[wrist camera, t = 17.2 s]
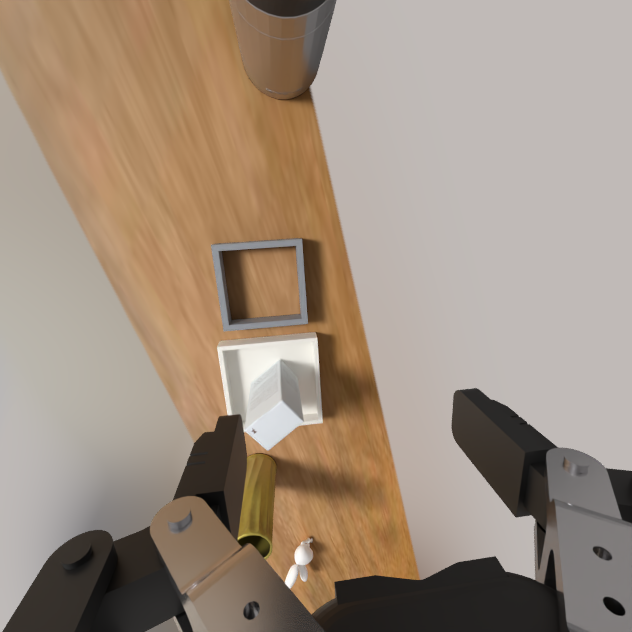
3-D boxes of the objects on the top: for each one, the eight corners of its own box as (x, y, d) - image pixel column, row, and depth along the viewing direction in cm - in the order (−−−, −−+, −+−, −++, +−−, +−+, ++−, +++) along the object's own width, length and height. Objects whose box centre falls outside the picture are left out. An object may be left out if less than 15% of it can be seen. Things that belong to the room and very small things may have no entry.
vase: (284, 464, 55) (285, 544, 42) (261, 489, 56) (256, 575, 43) (254, 446, 54) (246, 523, 40) (232, 472, 55) (216, 556, 41)
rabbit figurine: (324, 540, 61) (311, 588, 59) (308, 529, 64) (295, 575, 62) (304, 544, 57) (290, 596, 55) (288, 532, 59) (274, 582, 57)
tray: (220, 340, 48) (217, 347, 46) (315, 331, 49) (317, 337, 47) (232, 423, 52) (230, 433, 50) (320, 413, 53) (322, 422, 51)
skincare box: (269, 400, 51) (266, 453, 40) (250, 382, 50) (241, 430, 39) (299, 376, 51) (305, 422, 39) (280, 357, 49) (281, 398, 38)
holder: (214, 243, 44) (211, 245, 42) (300, 238, 45) (302, 239, 43) (226, 325, 48) (223, 331, 45) (306, 318, 49) (307, 323, 46)
